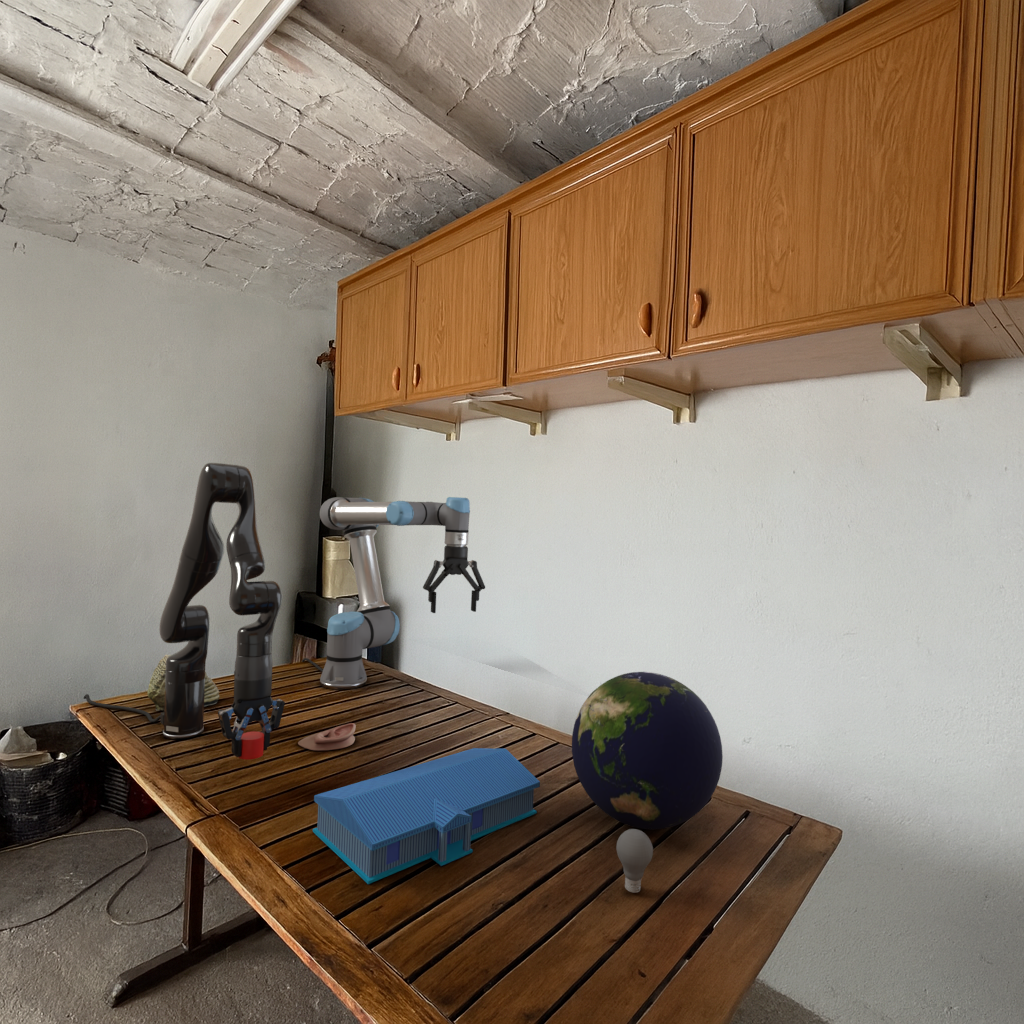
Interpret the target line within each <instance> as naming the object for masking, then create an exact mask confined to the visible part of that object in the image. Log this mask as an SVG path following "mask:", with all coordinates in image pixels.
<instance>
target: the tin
mask: <svg viewBox="0 0 1024 1024" xmlns="http://www.w3.org/2000/svg"><path fill="white" fill-rule="evenodd" d="M241 740H242V751H241V757H238V759H240V760H244V761H246V760H248V761H249V760H256V759H259V758H261V757H263V755H264V734H263V733H262V732H261V731H247V732H243V734H242V737H241Z"/></svg>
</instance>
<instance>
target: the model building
mask: <svg viewBox="0 0 1024 1024" xmlns="http://www.w3.org/2000/svg"><path fill="white" fill-rule="evenodd" d="M540 787H541V781H540V780H539V779H538V778H537V777H536V776H535V775H534V774H532V772H530V770H529V769H528V768H526V767H525V766H524V764H523V763H522V762H520V760H519V759H518V758H516V757H515V756H514V755H513V754H512V753H511V752H510V751H509V750H508V749H507V748H503V747H502V748H498V747H497V748H496V747H495V748H494V747H493V748H491V747H472V748H470V749H466V750H463V751H460V752H455V753H452V754H450V755H446V756H442V757H439V758H436V759H432V760H429V761H426V762H423V763H419V764H416V765H412V766H409V767H406V768H402V769H399V770H396V771H395V770H394V771H392V772H389V773H386V774H382V775H379V776H376V777H372V778H369V779H365V780H361V781H359V782H355V783H352V784H348V785H345V786H342V787H338V788H336V789H332V790H328V791H324V792H321V793H318V794H315V795H313V802H315V803H316V804H317V825H316V826H317V827H315V828H312V833H313V834H314V835H315V836H317V838H318V839H320V841H322V842H323V844H325V845H326V846H327V847H328V848H329V849H330V850H331V851H332V852H334V853H335V854H336V855H337V856H338V857H339V858H340V859H341V860H342V861H343V862H344V863H345V864H346V865H347V866H348V867H349V868H350V869H352V871H353V872H354V873H355V874H357V875H358V876H359V878H361V879H362V880H363V881H364V882H365V883H366V884H367V885H371V884H373V883H374V882H375V883H376V882H377V881H379V880H381V879H385V878H386V877H389V876H391V875H394V874H396V873H398V872H401V871H403V870H406V869H408V868H411V867H413V866H415V865H418V864H419V863H422V862H425V861H427V860H429V859H432V860H433V861H434V862H435V863H436V864H437V865H439V866H440V867H442V866H445V865H447V864H450V863H452V862H454V861H456V860H459V859H461V858H463V857H465V856H468V855H470V854H472V853H473V852H474V849H473V848H471V844H472V843H471V842H472V841H475V840H477V839H480V838H481V837H484V836H486V835H488V834H492V833H493V832H496V831H497V830H501V829H503V828H505V827H507V826H510V825H513V824H515V823H517V822H520V821H522V820H524V819H526V818H529V817H532V816H534V815H537V813H538V812H537V810H536V809H534V795H535V793H534V791H535V789H538V788H540Z"/></svg>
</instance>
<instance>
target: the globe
mask: <svg viewBox="0 0 1024 1024" xmlns="http://www.w3.org/2000/svg"><path fill="white" fill-rule="evenodd" d="M571 735H572V736H571V754H572V761H573V766H574V770H575V773H576V776H577V779H578V780H579V782H580V784H581V786H582V789H583V790H584V791H585V793H586V794H587V796H588V797H589V798H590V800H591V801H592V802H593V803H594V804H595V805H596V807H598V808H599V810H601V811H602V812H603V813H605V814H606V815H607V816H609V817H610V818H612V819H613V820H615V821H617V822H619V823H621V824H624V825H626V826H629V827H632V828H635V829H639V830H652V831H653V830H665V829H669V828H672V827H673V828H674V827H676V826H679V825H681V824H683V823H685V822H687V821H689V820H690V819H692V818H693V817H695V816H696V815H697V814H698V813H700V812H701V811H702V809H703V808H704V807H705V806H707V804H708V802H709V801H710V800H711V798H712V797H713V795H714V793H715V791H716V789H717V787H718V784H719V781H720V778H721V774H722V769H723V768H722V767H723V756H724V755H723V744H722V739H721V734H720V731H719V728H718V726H717V723H716V720H715V719H714V717H713V714H712V713H711V711H710V710H709V708H708V706H707V705H706V703H705V702H704V701H703V700H702V699H701V698H700V696H699V695H697V694H696V692H694V691H693V689H690V688H689V687H688V686H686V685H685V684H684V683H682V682H680V681H679V680H676V679H675V678H672V677H670V676H668V675H664V674H662V673H657V672H653V671H633V672H627V673H623V674H619V675H616V676H614V677H612V678H610V679H608V680H606V681H605V682H603V683H601V684H600V685H599V686H597V687H596V688H595V689H594V690H592V692H591V693H590V694H589V695H588V697H587V698H586V699H585V701H584V702H583V704H582V705H581V707H580V709H579V710H578V713H577V716H576V718H575V721H574V724H573V729H572V734H571Z"/></svg>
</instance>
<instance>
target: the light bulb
mask: <svg viewBox="0 0 1024 1024" xmlns="http://www.w3.org/2000/svg"><path fill="white" fill-rule="evenodd" d="M615 849H616V854H617V857H618V859H619V861H620V863H621V865H622V867H623V873H624V874H623V875H624V876H625V878H624V888H625V890H627V891H628V892H630V893H634V894H635V893H639V892H640V891H641V889H642V887H641V886H642V879H643V877H644V875H645V871H646V868H647V867H648V866H649V864H650V863H651V861H652V859H653V855H654V847H653V843H652V841H651V838H649V836H648V835H647V834H646V833H645V832H643V831H642V830H641V829H638V828H629V829H627V830H625V831H623V832H622V833H621V834H620V835H619V837H618V839H617V841H616V847H615Z"/></svg>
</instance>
